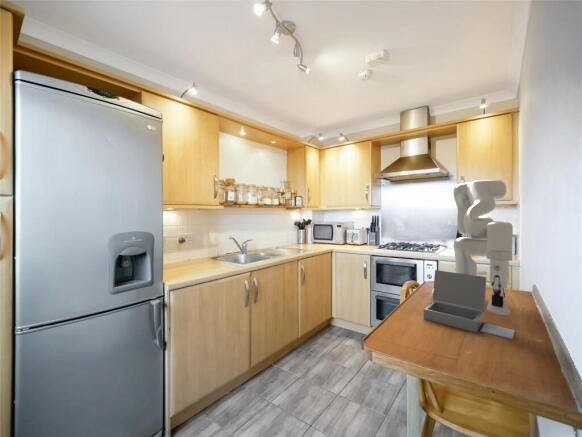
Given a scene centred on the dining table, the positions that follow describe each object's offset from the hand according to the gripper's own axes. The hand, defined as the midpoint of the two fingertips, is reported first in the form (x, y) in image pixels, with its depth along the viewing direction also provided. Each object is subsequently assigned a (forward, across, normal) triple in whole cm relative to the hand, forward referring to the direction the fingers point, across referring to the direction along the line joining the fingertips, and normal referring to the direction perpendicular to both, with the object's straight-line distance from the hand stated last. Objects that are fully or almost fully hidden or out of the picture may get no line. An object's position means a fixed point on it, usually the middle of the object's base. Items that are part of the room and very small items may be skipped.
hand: (498, 304), depth 97 cm
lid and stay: (+7, +6, +15) cm, 17 cm away
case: (+10, 0, +15) cm, 18 cm away
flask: (+3, 0, 0) cm, 3 cm away
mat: (+10, 0, 0) cm, 10 cm away
